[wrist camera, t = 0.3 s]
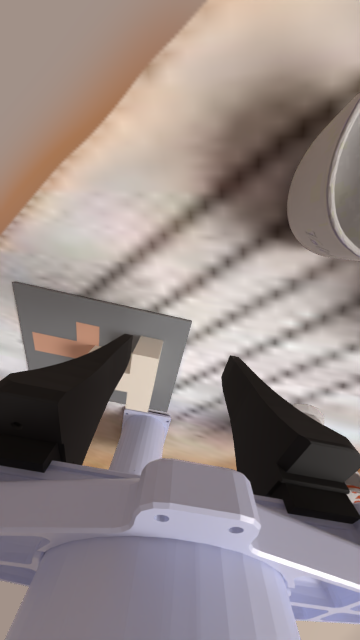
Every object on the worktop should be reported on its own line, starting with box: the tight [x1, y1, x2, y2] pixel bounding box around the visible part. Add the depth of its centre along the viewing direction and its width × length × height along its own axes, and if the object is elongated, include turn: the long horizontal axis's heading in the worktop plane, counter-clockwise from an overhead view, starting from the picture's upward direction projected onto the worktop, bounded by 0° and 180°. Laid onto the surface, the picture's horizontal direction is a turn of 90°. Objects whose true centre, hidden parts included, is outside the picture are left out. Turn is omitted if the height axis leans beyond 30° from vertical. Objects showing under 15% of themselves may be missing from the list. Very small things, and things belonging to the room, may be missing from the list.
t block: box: [89, 336, 163, 413], centre depth 23 cm, size 9×9×4 cm
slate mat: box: [12, 282, 192, 412], centre depth 25 cm, size 17×22×1 cm
